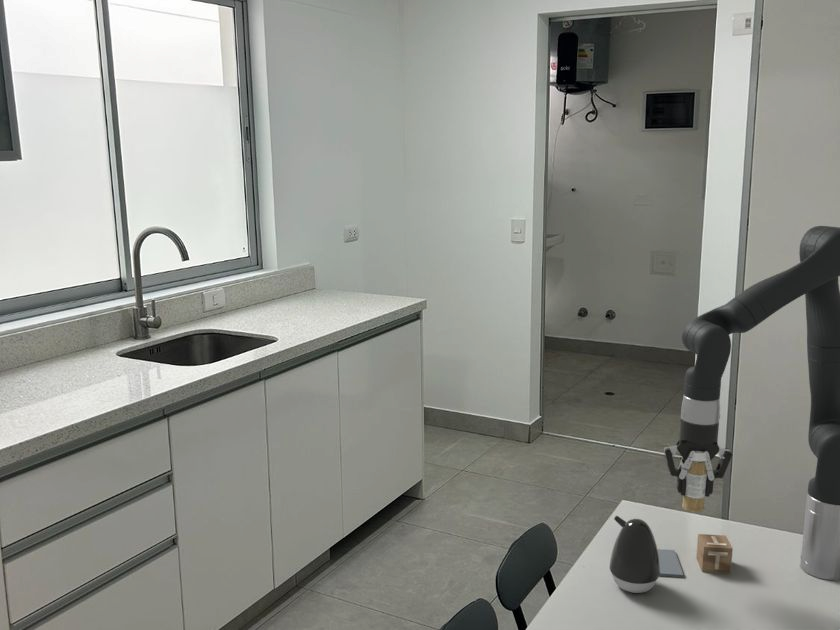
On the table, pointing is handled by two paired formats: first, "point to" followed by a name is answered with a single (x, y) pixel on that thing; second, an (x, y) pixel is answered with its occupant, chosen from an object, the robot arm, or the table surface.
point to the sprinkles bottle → (695, 484)
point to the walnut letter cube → (714, 553)
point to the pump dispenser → (635, 557)
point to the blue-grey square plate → (669, 563)
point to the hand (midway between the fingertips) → (693, 494)
